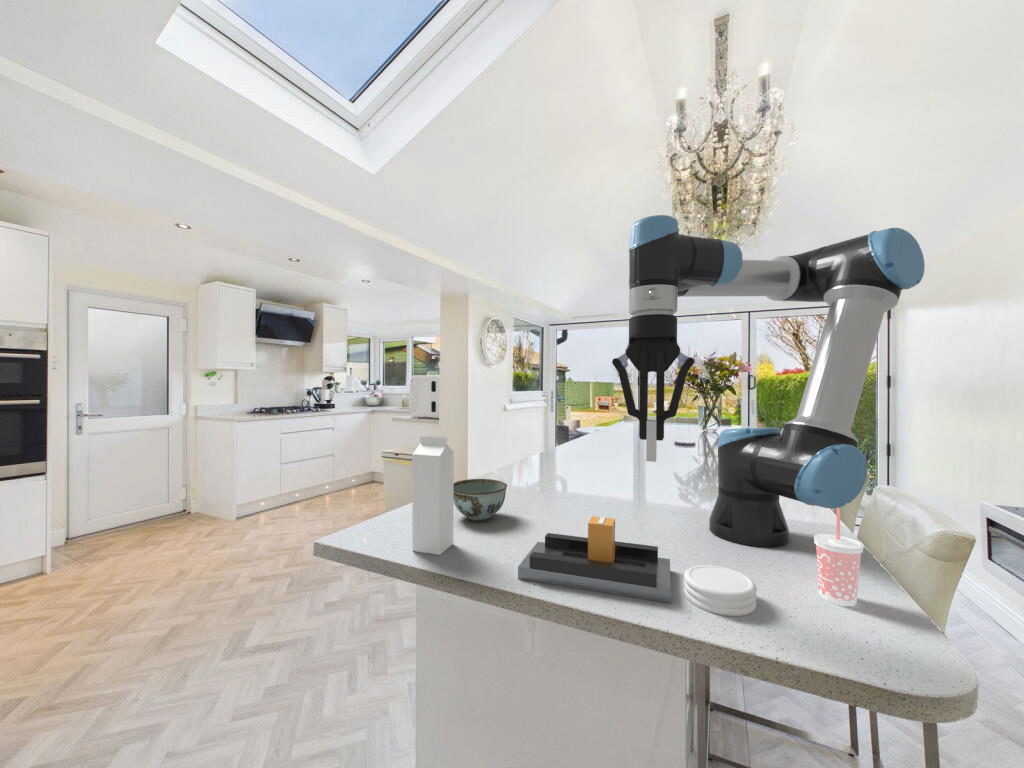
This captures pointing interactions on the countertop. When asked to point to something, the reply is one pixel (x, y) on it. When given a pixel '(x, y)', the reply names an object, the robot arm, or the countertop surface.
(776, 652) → the countertop surface
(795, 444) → the robot arm
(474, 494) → the bowl
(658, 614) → the countertop surface
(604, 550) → the lever
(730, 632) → the countertop surface
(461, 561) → the countertop surface
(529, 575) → the panel
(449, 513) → the milk
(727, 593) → the coaster
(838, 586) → the beverage cup
